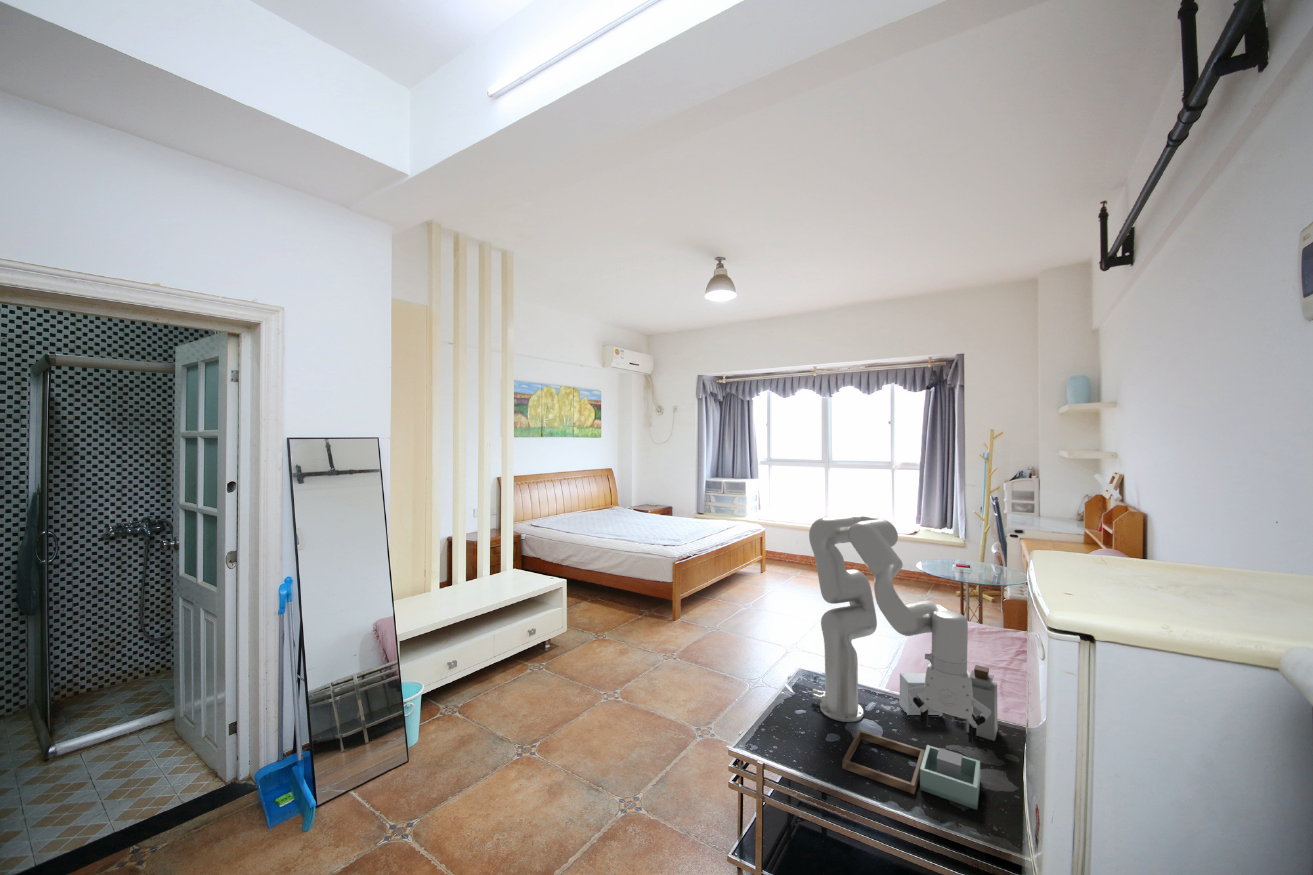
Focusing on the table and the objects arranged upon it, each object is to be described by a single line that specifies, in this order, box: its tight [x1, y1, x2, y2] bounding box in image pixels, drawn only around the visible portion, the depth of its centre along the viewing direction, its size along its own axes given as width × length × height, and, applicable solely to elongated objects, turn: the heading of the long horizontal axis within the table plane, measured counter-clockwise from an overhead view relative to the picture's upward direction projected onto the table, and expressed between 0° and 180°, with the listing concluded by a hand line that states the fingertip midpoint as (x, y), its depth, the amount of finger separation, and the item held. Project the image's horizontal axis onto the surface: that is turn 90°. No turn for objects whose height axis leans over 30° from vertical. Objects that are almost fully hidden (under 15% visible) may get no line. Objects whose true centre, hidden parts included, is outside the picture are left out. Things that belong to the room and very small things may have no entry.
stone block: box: [937, 747, 963, 781], centre depth 123 cm, size 5×5×6 cm
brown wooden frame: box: [841, 729, 926, 795], centre depth 132 cm, size 17×17×2 cm
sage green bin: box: [919, 744, 981, 811], centre depth 123 cm, size 12×12×5 cm
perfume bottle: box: [965, 664, 999, 742], centre depth 145 cm, size 7×7×18 cm
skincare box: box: [899, 672, 943, 717], centre depth 156 cm, size 10×6×10 cm, turn 88°
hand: (947, 733), depth 124 cm, fingers open, 9 cm apart
